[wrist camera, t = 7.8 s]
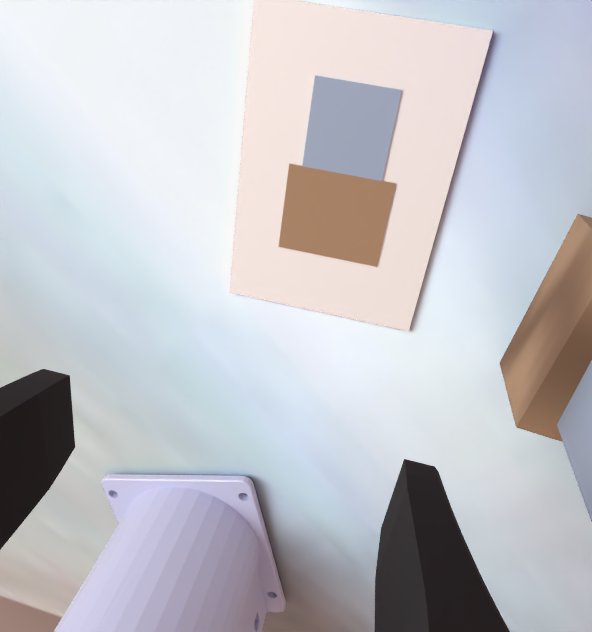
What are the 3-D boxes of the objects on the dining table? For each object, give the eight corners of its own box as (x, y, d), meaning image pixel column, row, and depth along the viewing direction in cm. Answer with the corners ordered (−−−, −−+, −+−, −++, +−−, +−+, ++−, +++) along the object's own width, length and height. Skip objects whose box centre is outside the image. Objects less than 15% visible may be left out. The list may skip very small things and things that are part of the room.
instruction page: (408, 329, 20) (408, 332, 20) (230, 290, 21) (228, 293, 21) (492, 30, 15) (493, 30, 15) (255, -6, 16) (253, -6, 16)
